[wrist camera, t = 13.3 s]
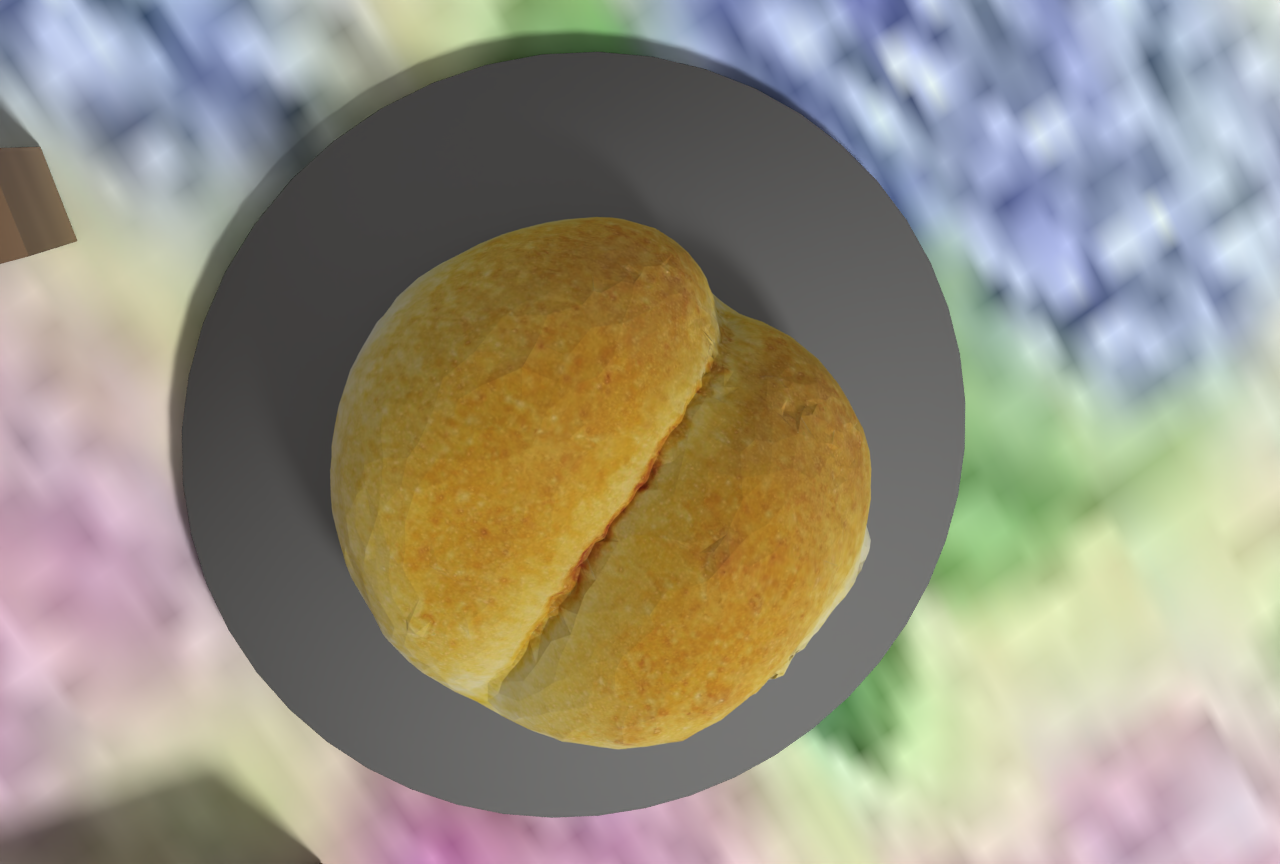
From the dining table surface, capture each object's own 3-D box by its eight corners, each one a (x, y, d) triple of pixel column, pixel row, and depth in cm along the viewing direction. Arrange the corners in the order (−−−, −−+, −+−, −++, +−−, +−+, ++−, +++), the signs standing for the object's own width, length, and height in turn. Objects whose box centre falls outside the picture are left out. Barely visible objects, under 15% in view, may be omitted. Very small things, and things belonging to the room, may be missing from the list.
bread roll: (518, 124, 19) (546, 120, 15) (902, 434, 22) (1007, 496, 18) (224, 518, 20) (180, 609, 16) (632, 773, 22) (678, 903, 19)
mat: (338, 906, 22) (337, 916, 22) (52, 178, 18) (47, 180, 18) (1011, 675, 24) (1018, 682, 24) (881, -38, 20) (889, -40, 20)
